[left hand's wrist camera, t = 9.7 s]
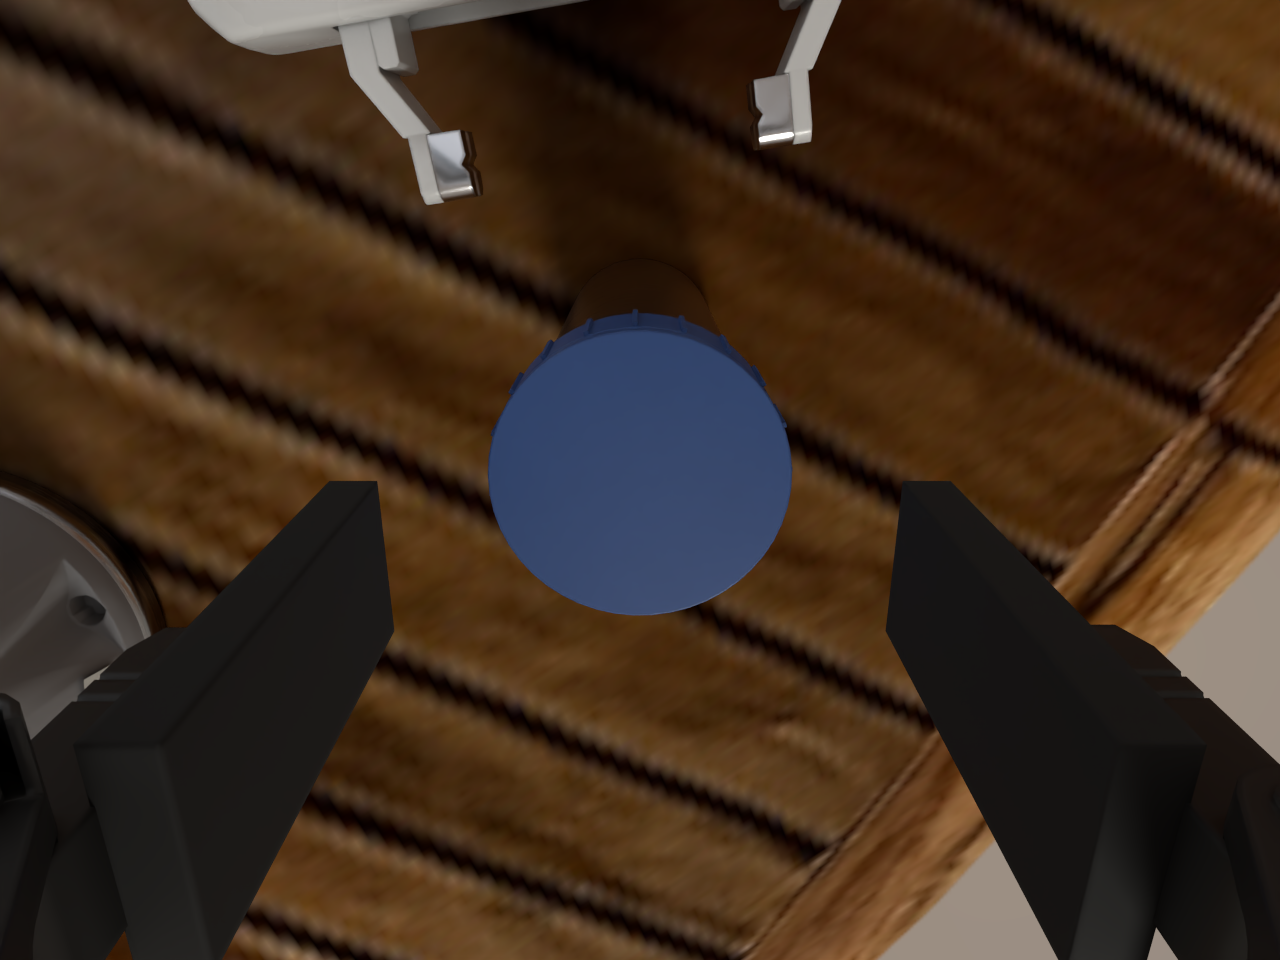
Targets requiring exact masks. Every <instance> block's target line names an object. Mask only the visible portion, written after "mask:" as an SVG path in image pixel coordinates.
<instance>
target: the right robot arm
mask: <svg viewBox="0 0 1280 960" xmlns="http://www.w3.org/2000/svg"><path fill="white" fill-rule="evenodd" d="M582 1H588V0H188V2H189V4H190V6H191V7H192V8H193V10H194V11H195V12H196V13H197V14H198V15H199V16H200V17H201V18H202V19H203V20H204V21H205V22H206V23H207V24H208V25H209V26H210V27H211V28H213V29H214V30H215V31H216V32H217V33H219V34H220V35H221V36H222V37H224V38H225V39H226V40H227V41H229V42H231V43H233V44H236V45H238V46H241V47H244V48H247V49H250V50H254V51H258V52H262V53H266V54H273V55H281V54H288V53H294V52H299V51H305V50H311V49H316V48H322V47H328V46H333V45H339V44H343V48H344V52H345V56H346V60H347V65H348V69H349V73H350V76H351V77H352V78H353V80H354V81H355V82H356V83H357V84H358V85H359V87H360V88H361V89H362V90H363V91H364V93H365V94H366V95H367V96H368V97H369V98H370V100H371V101H372V102H373V103H374V104H375V105H376V107H377V108H378V109H379V110H380V111H381V113H382V114H383V115H384V116H385V117H386V118H387V120H388V121H389V122H390V123H391V124H392V126H393V127H394V128H395V129H396V130H397V131H398V133H399V134H400V135H401V136H402V137H403V138H407V139H408V141H409V145H410V149H411V154H412V158H413V162H414V166H415V171H416V175H417V179H418V183H419V188H420V192H421V195H422V197H423V199H424V201H425V203H426V204H427V205H430V204H437V203H443V202H449V201H455V200H461V199H466V198H472V197H477V196H481V195H483V184H482V179H481V173H480V171H479V170H478V169H477V168H476V167H475V166H474V165H473V164H474V162H475V159H476V157H477V154H476V149H475V145H474V140H473V136H472V132H469V131H463V130H456V131H449V132H442V131H441V130H440V128H439V127H438V126H437V125H436V123H435V122H434V121H433V120H432V118H431V117H430V116H429V115H428V113H427V112H426V111H425V110H424V108H423V107H422V106H421V104H420V103H419V102H418V101H417V99H416V98H415V97H414V96H413V94H412V93H411V92H410V91H409V89H408V88H407V87H406V86H405V84H404V83H403V82H402V81H401V79H400V75H401V76H403V77H405V76H411V75H416V74H417V72H418V71H419V68H418V63H417V58H416V54H415V49H414V44H413V40H412V35H411V32H412V31H418V30H424V29H429V28H435V27H441V26H446V25H452V24H458V23H463V22H469V21H475V20H480V19H486V18H492V17H497V16H503V15H509V14H514V13H520V12H525V11H531V10H537V9H542V8H548V7H554V6H559V5H565V4H571V3H576V2H582ZM840 2H841V0H779V6H780V8H781V9H782V10H783V11H784V10H791V9H796V8H797V7H798V6H799V5H800V6H801V10H800V13H799V16H798V18H797V21H796V23H795V26H794V28H793V31H792V33H791V36H790V38H789V41H788V44H787V46H786V49H785V51H784V54H783V56H782V59H781V61H780V64H779V67H778V69H777V72H776V74H775V76H772V77H767V78H762V79H756V80H753V81H752V82H751V83H749V84H748V85H746V89H747V99H748V110H749V111H750V112H751V114H752V115H753V116H754V117H755V118H754V120H753V122H752V124H751V126H750V129H751V138H752V144H753V148H754V150H762V149H769V148H775V147H781V146H788V145H793V144H799V143H805V142H811V136H812V118H811V105H810V92H809V79H808V71H809V70H811V69H813V66H814V64H815V61H816V59H817V57H818V54H819V52H820V50H821V47H822V45H823V42H824V40H825V38H826V35H827V33H828V31H829V28H830V26H831V23H832V21H833V19H834V16H835V14H836V12H837V9H838V7H839V4H840Z"/></svg>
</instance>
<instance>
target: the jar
mask: <svg viewBox="0 0 1280 960" xmlns="http://www.w3.org/2000/svg"><path fill="white" fill-rule="evenodd" d="M633 310H638V313H649V314H658V315H666V316H670V317H674V318H679V315H681V316H684V318H685V321H688V322H690V323H693V324H695V325H698V326H701V327H703V328H704V329H706V330H708V331H710V332H712V333H713V334H715V335H717V336H719V337H720V335H721V334H720V332H719V329H718V327H717V325H716V323H715V321H714V319H713V317H712V315H711V313H710V310H709V308H708V306H707V304H706V302H705V300H704V298H703V296H702V294H701V293H700V291H699V289H698V288H697V287H696V286H695V284H694V283H693V282H692V281H691V280H690V279H689V278H688V277H687V276H686V275H685V274H683V273H682V272H681V271H679V270H677V269H676V268H674V267H672V266H670V265H668V264H665V263H663V262H659V261H655V260H650V259H630V260H624V261H621V262H617V263H614V264H612V265H610V266H608V267H606V268H604V269H603V270H601V271H599V272H598V273H597V274H596V275H594V276H593V277H592V278H591V279H590V280H589V281H588V282H587V283H586V284H585V285H584V287H583V288H582V290H581V291H580V292H579V294H578V296H577V298H576V300H575V302H574V304H573V306H572V308H571V310H570V313H569V315H568V317H567V319H566V321H565V323H564V325H563V327H562V330H561V332H560V334H559V336H558V338H557V339H559V338H560V337H562V336H563V335H565V334H567V333H568V332H570V331H572V330H573V329H575V328H578V327H580V326H582V325H585V324H586V321H587V319H589V318H592V320H593V321H595V320H598V319H602V318H605V317H609V316H615V315H622V314H633Z"/></svg>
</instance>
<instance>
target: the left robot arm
mask: <svg viewBox="0 0 1280 960" xmlns="http://www.w3.org/2000/svg"><path fill="white" fill-rule="evenodd" d="M393 632H394V624H393V616H392V607H391V598H390V590H389V581H388V572H387V563H386V555H385V546H384V537H383V529H382V520H381V511H380V502H379V494H378V485H377V481H329V482H328V483H327V484H326V485H325V486H324V487H323V488H322V489H321V490H320V491H319V493H318V494H317V495H316V496H315V497H314V498H313V499H312V500H311V501H310V502H309V503H308V504H307V505H306V506H305V507H304V508H303V509H302V510H301V511H300V512H299V513H298V514H297V515H296V516H295V517H294V518H293V519H292V520H291V521H290V522H289V523H288V524H287V525H286V526H285V527H284V528H283V529H282V530H281V531H280V533H279V534H278V535H277V536H276V537H275V538H274V539H273V540H272V541H271V542H270V543H269V544H268V545H267V546H266V547H265V548H264V549H263V550H262V551H261V552H260V553H259V554H258V555H257V556H256V557H255V558H254V559H253V560H252V561H251V562H250V563H249V564H248V565H247V566H246V567H245V568H244V569H243V570H242V571H241V573H240V574H239V575H238V576H237V577H236V578H235V579H234V580H233V581H232V582H231V583H230V584H229V585H228V586H227V587H226V588H225V589H224V590H223V591H222V592H221V593H220V594H219V595H218V596H217V597H216V598H215V599H214V600H213V601H212V602H211V603H210V604H209V605H208V606H207V607H206V608H205V609H204V610H203V611H202V613H201V614H200V615H199V616H198V617H197V618H196V619H195V620H194V621H193V622H192V623H191V624H190V625H189V626H188V627H187V628H166V625H165V621H164V618H163V615H162V612H161V609H160V606H159V604H158V601H157V599H156V597H155V595H154V593H153V590H152V588H151V587H150V585H149V583H148V581H147V580H146V578H145V576H144V574H143V573H142V572H141V570H140V569H139V567H138V566H137V564H136V563H135V562H134V560H133V559H132V558H131V556H130V555H129V554H128V553H127V552H126V550H125V549H124V548H123V547H122V546H121V545H120V544H119V542H118V541H117V540H116V539H115V538H114V537H113V536H112V535H111V534H110V533H109V532H108V531H107V530H105V529H104V528H103V527H102V526H101V525H100V524H99V523H97V522H96V521H95V520H94V519H93V518H91V517H90V516H89V515H87V514H86V513H85V512H83V511H82V510H81V509H79V508H78V507H76V506H75V505H73V504H72V503H70V502H68V501H67V500H65V499H64V498H62V497H61V496H59V495H57V494H55V493H53V492H51V491H49V490H47V489H45V488H44V487H41V486H39V485H37V484H35V483H32V482H30V481H28V480H25V479H23V478H20V477H17V476H14V475H11V474H8V473H5V472H1V471H0V960H105V959H106V957H107V956H108V954H109V953H110V951H111V950H112V948H113V947H114V945H115V944H116V942H117V941H118V940H119V938H120V937H121V935H122V934H123V932H124V931H125V933H126V937H127V940H128V944H129V947H130V951H131V954H132V958H133V960H222V958H223V956H224V954H225V952H226V951H227V949H228V947H229V945H230V943H231V941H232V939H233V937H234V935H235V933H236V931H237V930H238V928H239V926H240V924H241V922H242V920H243V918H244V916H245V914H246V912H247V911H248V909H249V907H250V905H251V903H252V901H253V899H254V897H255V895H256V893H257V891H258V890H259V888H260V886H261V884H262V882H263V880H264V878H265V876H266V874H267V872H268V871H269V869H270V867H271V865H272V863H273V861H274V859H275V857H276V855H277V853H278V851H279V850H280V848H281V846H282V844H283V842H284V840H285V838H286V836H287V834H288V832H289V831H290V829H291V827H292V825H293V823H294V821H295V819H296V817H297V815H298V813H299V811H300V810H301V808H302V806H303V804H304V802H305V800H306V798H307V796H308V794H309V792H310V791H311V789H312V787H313V785H314V783H315V781H316V779H317V777H318V775H319V773H320V771H321V770H322V768H323V766H324V764H325V762H326V760H327V758H328V756H329V754H330V752H331V751H332V749H333V747H334V745H335V743H336V741H337V739H338V737H339V735H340V733H341V731H342V730H343V728H344V726H345V724H346V722H347V720H348V718H349V716H350V714H351V712H352V710H353V709H354V707H355V705H356V703H357V701H358V699H359V697H360V695H361V693H362V691H363V690H364V688H365V686H366V684H367V682H368V680H369V678H370V676H371V674H372V672H373V670H374V669H375V667H376V665H377V663H378V661H379V659H380V657H381V655H382V653H383V651H384V650H385V648H386V646H387V644H388V642H389V640H390V638H391V636H392V634H393ZM886 632H887V634H888V636H889V638H890V640H891V642H892V644H893V646H894V648H895V650H896V651H897V653H898V655H899V657H900V659H901V661H902V663H903V665H904V667H905V669H906V671H907V672H908V674H909V676H910V678H911V680H912V682H913V684H914V686H915V688H916V690H917V691H918V693H919V695H920V697H921V699H922V701H923V703H924V705H925V707H926V709H927V711H928V712H929V714H930V716H931V718H932V720H933V722H934V724H935V726H936V728H937V730H938V731H939V733H940V735H941V737H942V739H943V741H944V743H945V745H946V747H947V749H948V751H949V752H950V754H951V756H952V758H953V760H954V762H955V764H956V766H957V768H958V770H959V771H960V773H961V775H962V777H963V779H964V781H965V783H966V785H967V787H968V789H969V791H970V792H971V794H972V796H973V798H974V800H975V802H976V804H977V806H978V808H979V810H980V811H981V813H982V815H983V817H984V819H985V821H986V823H987V825H988V827H989V829H990V831H991V832H992V834H993V836H994V838H995V840H996V842H997V844H998V846H999V848H1000V850H1001V851H1002V853H1003V855H1004V857H1005V859H1006V861H1007V863H1008V865H1009V867H1010V869H1011V871H1012V872H1013V874H1014V876H1015V878H1016V880H1017V882H1018V884H1019V886H1020V888H1021V890H1022V891H1023V893H1024V895H1025V897H1026V899H1027V901H1028V903H1029V905H1030V907H1031V909H1032V910H1033V912H1034V914H1035V916H1036V918H1037V920H1038V922H1039V924H1040V926H1041V928H1042V929H1043V932H1044V933H1045V935H1046V937H1047V939H1048V941H1049V943H1050V945H1051V947H1052V949H1053V951H1054V952H1055V954H1056V956H1057V958H1058V960H1147V958H1148V954H1149V951H1150V947H1151V944H1152V940H1153V936H1154V933H1155V929H1156V928H1157V929H1158V930H1159V932H1160V933H1161V935H1162V936H1163V938H1164V939H1165V941H1166V942H1167V944H1168V945H1169V947H1170V948H1171V950H1172V951H1173V953H1174V954H1175V956H1176V957H1177V959H1178V960H1280V764H1279V763H1277V762H1276V761H1275V760H1274V759H1273V758H1272V757H1271V756H1270V755H1269V754H1268V753H1267V752H1266V751H1265V750H1264V749H1263V748H1262V747H1261V746H1259V745H1258V744H1257V743H1256V742H1255V741H1254V740H1253V739H1252V738H1251V737H1250V736H1249V735H1248V734H1247V733H1246V732H1245V731H1244V730H1242V729H1241V728H1240V727H1239V726H1238V725H1237V724H1236V723H1235V722H1234V721H1233V720H1232V719H1231V718H1230V717H1229V716H1228V715H1227V714H1225V713H1224V712H1223V711H1222V710H1221V709H1220V708H1219V707H1218V706H1217V705H1216V704H1215V703H1214V702H1213V701H1212V700H1211V699H1209V698H1204V696H1203V692H1202V691H1201V690H1200V689H1199V688H1198V687H1197V686H1196V685H1195V684H1194V683H1192V682H1191V681H1190V680H1189V679H1188V678H1187V677H1182V676H1181V671H1180V670H1179V669H1178V668H1176V667H1175V666H1174V665H1173V664H1172V663H1171V662H1170V661H1169V660H1168V659H1167V658H1166V657H1165V656H1164V655H1163V654H1162V653H1161V652H1160V651H1158V650H1157V649H1156V648H1155V647H1154V646H1153V645H1151V644H1149V643H1147V642H1145V641H1143V640H1142V639H1140V638H1138V637H1136V636H1134V635H1133V634H1131V633H1129V632H1127V631H1125V630H1123V629H1122V628H1120V627H1118V626H1116V625H1090V624H1089V623H1088V622H1087V621H1086V620H1085V619H1084V618H1083V617H1082V616H1081V615H1080V614H1079V613H1078V611H1077V610H1076V609H1075V608H1074V607H1073V606H1072V605H1071V604H1070V603H1069V602H1068V601H1067V600H1066V599H1065V598H1064V597H1063V596H1062V595H1061V594H1060V593H1059V592H1058V591H1057V590H1056V589H1055V588H1054V587H1053V586H1052V585H1051V584H1050V583H1049V582H1048V581H1047V580H1046V579H1045V578H1044V577H1043V576H1042V575H1041V574H1040V573H1039V571H1038V570H1037V569H1036V568H1035V567H1034V566H1033V565H1032V564H1031V563H1030V562H1029V561H1028V560H1027V559H1026V558H1025V557H1024V556H1023V555H1022V554H1021V553H1020V552H1019V551H1018V550H1017V549H1016V548H1015V547H1014V546H1013V545H1012V544H1011V543H1010V542H1009V541H1008V540H1007V539H1006V538H1005V537H1004V536H1003V535H1002V534H1001V533H1000V531H999V530H998V529H997V528H996V527H995V526H994V525H993V524H992V523H991V522H990V521H989V520H988V519H987V518H986V517H985V516H984V515H983V514H982V513H981V512H980V511H979V510H978V509H977V508H976V507H975V506H974V505H973V504H972V503H971V502H970V501H969V500H968V499H967V498H966V497H965V496H964V495H963V494H962V493H961V491H960V490H959V489H958V488H957V487H956V486H955V485H954V484H953V483H952V482H951V481H903V485H902V494H901V502H900V511H899V520H898V529H897V537H896V546H895V555H894V563H893V572H892V581H891V590H890V598H889V607H888V616H887V624H886Z"/></svg>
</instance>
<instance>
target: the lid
mask: <svg viewBox="0 0 1280 960" xmlns="http://www.w3.org/2000/svg"><path fill="white" fill-rule="evenodd" d="M765 385H766V383H765V382H764V380H763V378H762V376H761V374H760V373H759V371H758V369H757V368H756V366H755V365H753V366H752V367H751V366H750V365H749V364H748V362H747V361H746V360H745V359H744V358H743V357H742V356H741V355H740V354H739V353H738V352H737V351H736V350H735V349H734V348H733V347H732V346H730V345H729V343H728V341H727V339H726V337H725V336H723V335H722V334H721V335H720V337H719V336H717V335H715V334H713V333H712V332H710V331H708V330H706V329H704V328H703V327H701V326H698V325H695V324H693V323H690V322H688V321H685V318H684V316H681V315H679V318H674V317H670V316H666V315H658V314H649V313H638V310H633V314H622V315H615V316H609V317H605V318H602V319H598V320H595V321H593V320H592V318H589V319H587V321H586V324H585V325H582V326H580V327H578V328H575V329H573V330H572V331H570V332H568V333H567V334H565V335H563V336H562V337H560V338H559V339H557V340H556V341H555V342H553V341H552V340H550V341H548V342H547V344H546V346H545V348H544V350H543V352H542V353H541V354H540V355H539V356H538V357H537V358H536V359H535V360H534V361H533V362H532V363H531V365H530V366H529V368H528V369H527V370H526V372H525V373H524V374H523V373H521V372H520V373H519V375H518V377H517V378H516V380H515V382H514V384H513V385H512V387H511V389H510V391H509V394H511V397H510V399H509V401H508V403H507V404H506V406H505V408H504V410H503V412H502V414H501V416H500V417H499V419H498V421H497V423H496V425H495V427H494V428H493V430H492V433H491V436H493V438H492V443H491V448H490V453H489V465H488V481H489V493H490V497H491V502H492V506H493V510H494V513H495V516H496V519H497V521H498V524H499V527H500V529H501V531H502V533H503V535H504V537H505V538H506V540H507V542H508V544H509V546H510V547H511V548H512V550H513V551H514V553H515V554H516V555H517V557H518V558H519V559H520V561H521V562H522V563H523V564H524V565H525V566H526V567H527V568H528V569H529V570H530V571H531V572H532V573H533V574H534V575H535V576H536V577H537V578H539V579H540V580H541V581H542V582H543V583H545V584H546V585H547V586H549V587H550V588H552V589H553V590H555V591H556V592H558V593H560V594H561V595H563V596H565V597H567V598H569V599H571V600H573V601H575V602H577V603H580V604H582V605H585V606H588V607H591V608H594V609H597V610H602V611H606V612H611V613H616V614H626V615H655V614H662V613H670V612H674V611H678V610H682V609H686V608H689V607H692V606H695V605H697V604H700V603H702V602H705V601H707V600H709V599H711V598H713V597H715V596H717V595H719V594H721V593H722V592H724V591H725V590H727V589H728V588H730V587H731V586H732V585H734V584H735V583H737V582H738V581H739V580H740V579H741V578H743V577H744V576H745V575H746V574H747V573H748V572H749V571H750V570H751V569H752V568H753V567H754V566H755V565H756V564H757V563H758V561H759V560H760V559H761V558H762V557H763V556H764V554H765V553H766V551H767V550H768V548H769V547H770V545H771V544H772V542H773V541H774V539H775V537H776V535H777V533H778V531H779V529H780V527H781V525H782V522H783V519H784V516H785V513H786V510H787V507H788V502H789V497H790V491H791V480H792V464H791V453H790V447H789V443H788V439H787V435H786V431H785V429H784V428H785V427H787V425H786V422H785V421H784V419H783V417H782V415H781V413H780V412H779V410H778V408H777V406H776V405H775V404H773V403H772V401H771V399H770V397H769V396H768V394H767V392H766V390H765V388H764V386H765Z"/></svg>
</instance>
